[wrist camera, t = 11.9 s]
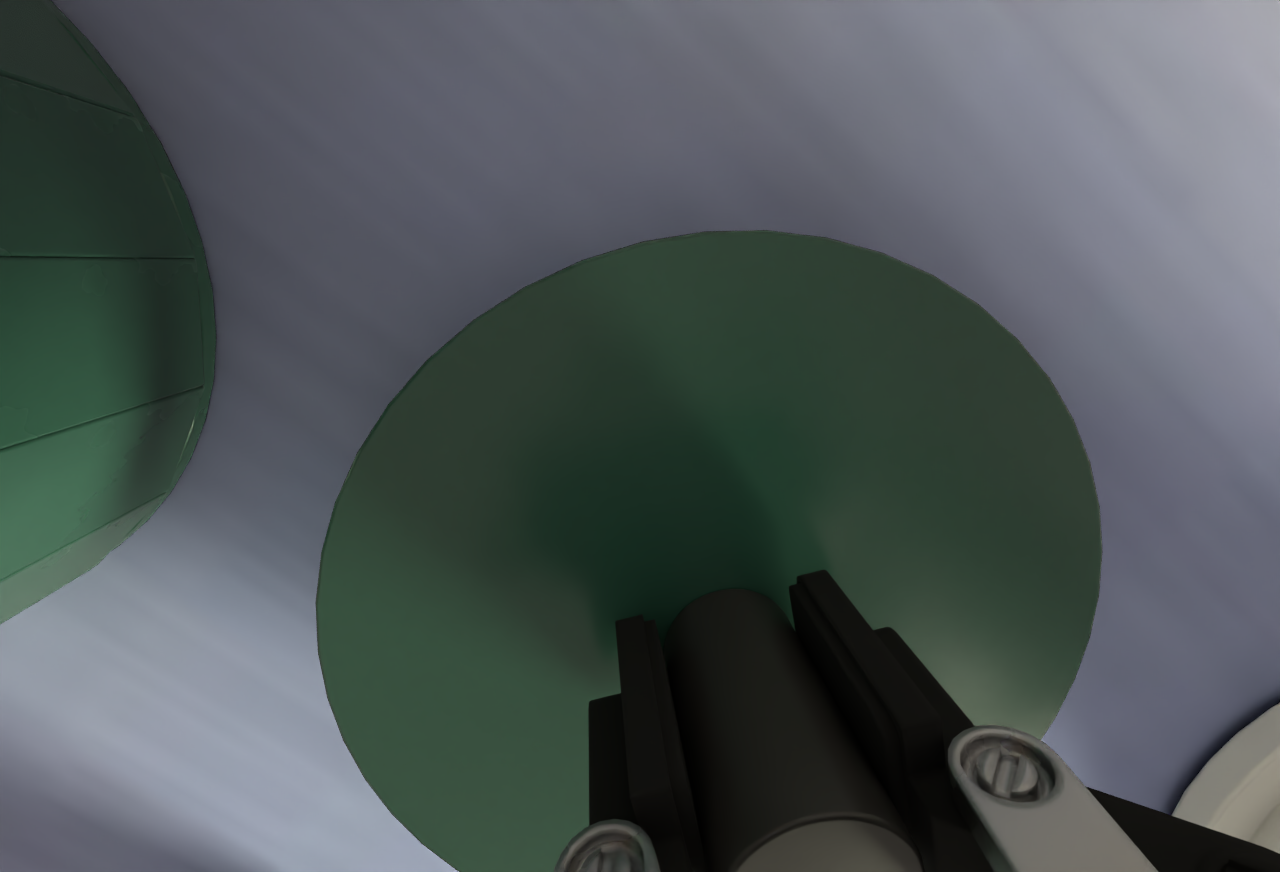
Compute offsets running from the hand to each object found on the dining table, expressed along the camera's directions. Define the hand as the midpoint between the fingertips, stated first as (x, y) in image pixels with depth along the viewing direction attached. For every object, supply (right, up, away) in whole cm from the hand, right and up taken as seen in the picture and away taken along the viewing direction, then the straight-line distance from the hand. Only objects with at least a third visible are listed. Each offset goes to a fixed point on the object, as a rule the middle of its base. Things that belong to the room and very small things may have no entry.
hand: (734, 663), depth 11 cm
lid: (0, 0, +1) cm, 1 cm away
